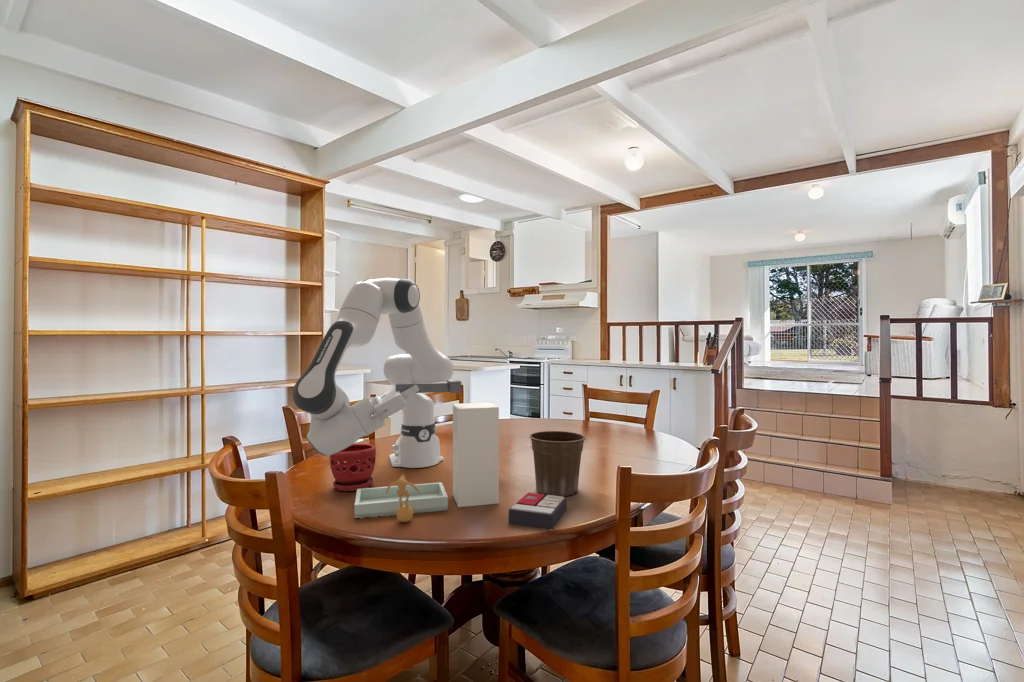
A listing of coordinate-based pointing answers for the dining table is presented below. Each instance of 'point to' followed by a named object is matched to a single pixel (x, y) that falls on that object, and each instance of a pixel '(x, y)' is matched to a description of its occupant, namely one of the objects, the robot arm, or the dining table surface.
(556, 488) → the plant pot
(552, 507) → the dark grey box
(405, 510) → the figurine
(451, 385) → the stop bar
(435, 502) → the tray
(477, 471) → the post
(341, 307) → the robot arm
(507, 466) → the dining table surface
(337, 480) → the plant pot
